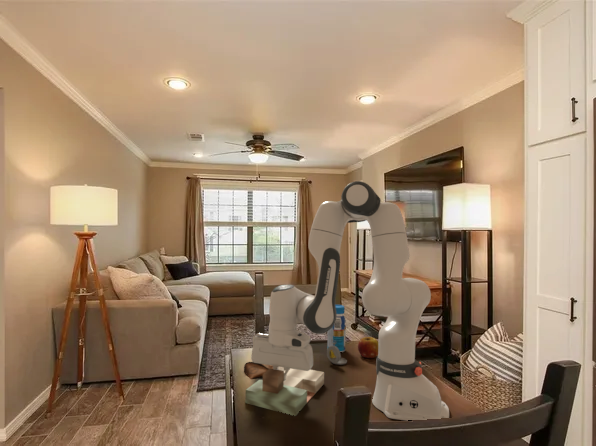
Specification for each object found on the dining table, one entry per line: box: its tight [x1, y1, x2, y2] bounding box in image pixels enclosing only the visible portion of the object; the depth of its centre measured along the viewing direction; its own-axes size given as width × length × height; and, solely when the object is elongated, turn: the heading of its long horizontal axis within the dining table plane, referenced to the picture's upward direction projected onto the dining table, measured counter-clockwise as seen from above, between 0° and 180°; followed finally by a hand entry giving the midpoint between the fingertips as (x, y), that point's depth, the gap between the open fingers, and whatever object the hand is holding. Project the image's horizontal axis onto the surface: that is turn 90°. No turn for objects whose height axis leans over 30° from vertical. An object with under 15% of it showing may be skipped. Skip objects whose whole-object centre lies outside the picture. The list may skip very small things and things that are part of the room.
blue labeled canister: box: [326, 304, 347, 353], centre depth 157 cm, size 8×8×20 cm
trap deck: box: [244, 367, 325, 417], centre depth 114 cm, size 17×24×4 cm
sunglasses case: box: [243, 361, 273, 380], centre depth 131 cm, size 18×7×7 cm
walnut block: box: [262, 369, 284, 394], centre depth 108 cm, size 5×5×5 cm
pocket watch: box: [326, 340, 348, 366], centre depth 141 cm, size 8×8×10 cm
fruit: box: [357, 336, 379, 359], centre depth 149 cm, size 10×9×8 cm
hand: (281, 379), depth 110 cm, fingers closed, pressing on walnut block
